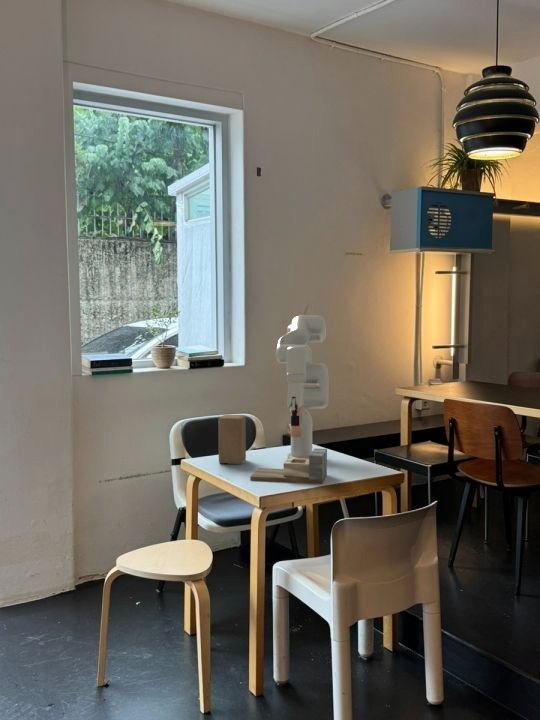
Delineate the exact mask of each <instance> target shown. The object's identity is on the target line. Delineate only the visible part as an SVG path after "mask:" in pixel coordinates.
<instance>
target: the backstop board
mask: <svg viewBox="0 0 540 720" xmlns="http://www.w3.org/2000/svg"><path fill="white" fill-rule="evenodd" d="M327 475H328V449H327V448H314V449H312V453H311V454H310V456H309V477H289V476H284V468H267V467H265V468H264V467H263V468H262V467H258V468H257V469H256V470H255V471H254V472H253V473H252V474H251V475H250V477H249V479H250V481H255V480H256V481H255V482H257V481H258V482H259V481H260V482H279V483H299V484H314V485H315V484H316V485H317V484H319V485H322V484H323V483H324V481H325V480H326V477H327Z"/></svg>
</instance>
